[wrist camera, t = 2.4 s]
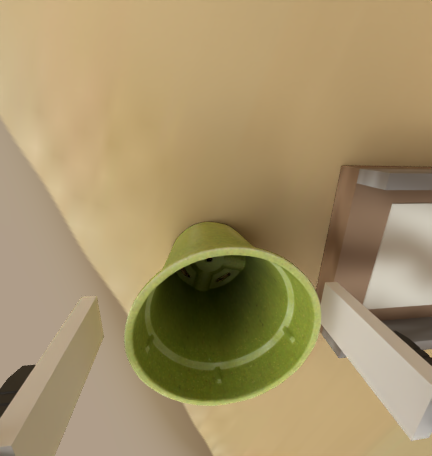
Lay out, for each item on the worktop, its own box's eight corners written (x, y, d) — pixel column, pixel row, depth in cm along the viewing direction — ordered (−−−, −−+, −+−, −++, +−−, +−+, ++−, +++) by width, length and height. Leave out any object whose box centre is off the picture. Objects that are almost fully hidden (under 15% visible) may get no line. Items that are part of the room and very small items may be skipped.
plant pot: (227, 174, 17) (266, 204, 9) (284, 265, 20) (349, 347, 12) (125, 243, 18) (75, 328, 10) (195, 320, 21) (202, 430, 13)
